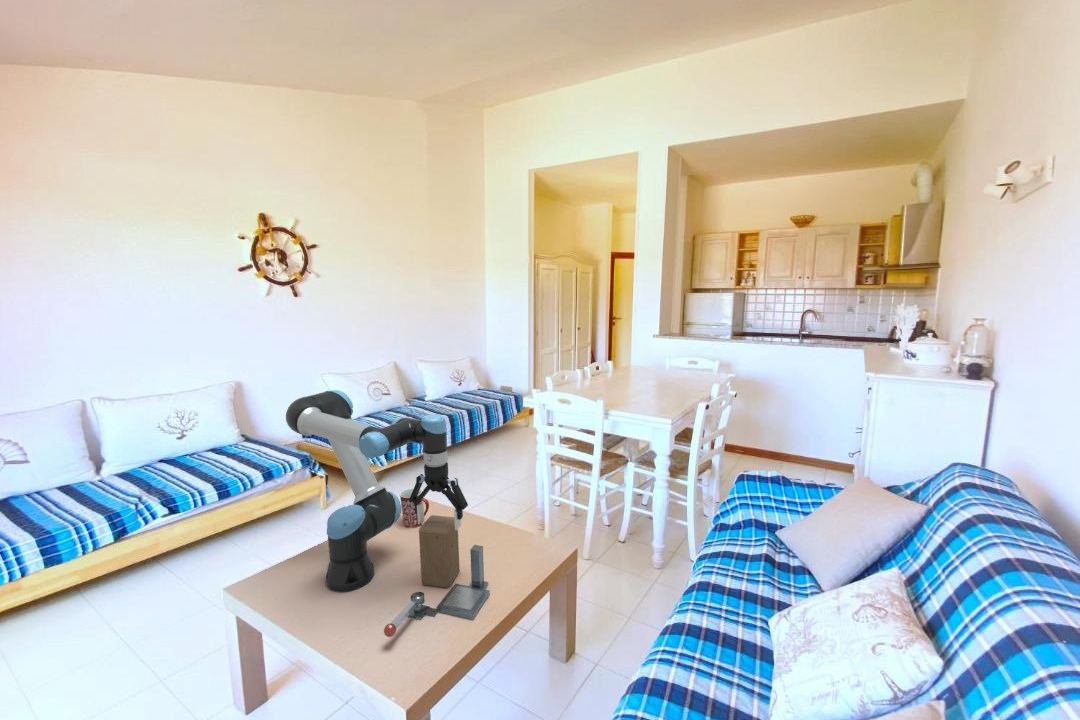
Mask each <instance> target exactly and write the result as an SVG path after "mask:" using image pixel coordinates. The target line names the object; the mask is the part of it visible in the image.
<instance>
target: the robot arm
mask: <svg viewBox="0 0 1080 720" xmlns="http://www.w3.org/2000/svg"><path fill="white" fill-rule="evenodd" d="M353 414H354V405H353V402H352V399H351V398H350V396H349V395H348V394H346V393H345V392H343V391H341V390H338V389H332V390H325V391H324V392H320V393H315V394H310V395H308V396H302V397H299V398H297V399H295V400H294V401H293V402H291V404H290V405H289V406H288V407H287V409H286V412H285V422H286V424H287V426H288V427H289V429H291V431H293V432H295V433H296V434H299V435H302V436H305V437H306V436H307V437H308V436H312V435H314V436H317V437H320V438H323V439H326V440H327V439H328V442H329V444H330V446H331V449H332V450H333V453H334V455H335V457H336V459H337V462H338V463H339V465H340V468H341V470H342V471H343V474H344V475H345V478H346V481H347V482H348V484H349V486H350V489H351V490H352V493H353V495H354V500H353V503H352V504H349V505H347V506H342V507H339V508H337V509H336V510H335V511H333V512H332V513H331V514H330V515H329V516H328V517H327V522H326V536H327V541H328V543H327V544H328V555H329V563H328V566H327V571H326V574H325V586H326V588H327V589H328V590H330V591H332V592H336V593H347V592H352V591H355V590H359V589H360V588H363V587H365V586H366V585H368V584H369V583H370V582H371V581H372V580H373V578H374V576H375V565H374V563H373V561H371V558H370V555H369V553H368V541H369V540H371V539H373V538H374V537H376V536H378V535H379V534H381V533H382V532H385V531H386V530H389V529H390V528H392V526H393V525H395V524H396V523H397V522H398V521H399V519H400V517H401V514H402V506H401V500H400V499H399V496H398V495H396V494H394V492H393V491H387V488H386V486H383V485H380V484H379V483H378V480H377V479H376V476H375V475H374V474H375V473H374V472H373V470H372V468H371V466H370V464H369V462H368V459H374V458H377V457H378V458H379V457H382V456H384V455H385V454H387V453H390V452H392V451H394V450H396V449H398V448H399V449H400V448H401V447H403V446H405V445H408V444H411V443H413V444H419V445H422V452H423V453H422V454H423V455H422V456H423V463H424V465H423V472H424V474H423V473H420V474H419V475H418V476H416V477H415V478H416V479H415V485H414V487H413V488H414V489H413V491H412V494H411V496H410V499H409V502H413V503H414V504H415V512H416V513H417V517H418V524H420V525H422V523H424V521H425V516H424V512H425V510H424V509H425V508H424V502H423V501H422V499H423V498H425V496H426V495H427V494H428V493H429V491H430V490H431V492H437V493H441V494H442V495H444V496H445V497H446V498H447V500H448V501H449V503H451V505H452V506H453V507H454V511H453V513H454V514H453V517H454V520H455V530H458V531H459V529H460V528H461V527H462V519H463V516H464V515H463V512H464V511H465V509H466V508H467V507H468V506H469V504H468V502H467V501H468V500H467V499H466V498H465V496H464V493H463V491H462V489H461V487H460V485H459V479H458V478H457V477H454V479H452V478H451V479H450V478H449V463H448V461H449V457H448V456H449V455H448V443H447V440H448V439H447V432H448V431H447V429H448V428H447V421H446V417H445V416H444V415H443V414H438V413H435V414H427V415H424V416H423V417H422V418H421V419H417V418H416V419H415V418H410V417H405V416H404V417H396V418H395V419H394V420H393V421H392V422H391V424H390V425H387V426H384V427H376V426H373V425H368V424H365V423H361V422H358V421H354V420H353V419H352V418H353V417H352V416H353ZM424 482H425V484H426V486H425V487H424V488H423V490H422V493H421V494H420V495H419V496H418V498H416V497H417V495H418V493H419V490H420V489H421V488H422V486H423V483H424ZM420 501H422V502H420ZM463 510H464V511H463Z"/></svg>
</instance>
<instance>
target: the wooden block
mask: <svg viewBox="0 0 1080 720" xmlns="http://www.w3.org/2000/svg"><path fill="white" fill-rule="evenodd" d="M418 539H419V540H418V541H419V558H420V578H421V584H422V585H423V586H430V587H431V586H432V587H439V588H450V587H451V585H452V583H454V581H455V579H456V578H457V576H458V574H459V572H460V571H461V570H460V551H459V550H460V547H459V529H458V530H455V520H454V516H444V515H442V516H441V515H435V514H434V515H430V516H429V517H428V518H427V519H426V520H425V522H423V524H421V525H420V527H419V529H418Z"/></svg>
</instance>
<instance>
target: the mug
mask: <svg viewBox="0 0 1080 720" xmlns="http://www.w3.org/2000/svg"><path fill="white" fill-rule="evenodd" d="M413 489H414V487H411V488H405V489H404V490H402V491H400V492H399V497H400V499H399V500H400V504H401V514H402V520H403V525H404V527H406V528H409V529H410V528H411V529H412V528H417V527H419V526H421V524H418V517H417V513H416V512H415V504H414V503H413V502H409V499H410V496H411V494H412V491H413ZM422 491H423V490H422V489H421V488H420V490H419V493H418V495H417V497H416V498H418V496H419V495H420V494H421V493H422ZM420 502H423V503H424V504H425V510H424V517H425V516H426V515H427V513H428V511H429V509H430V502H429V500H428V499H427V498H425V497H424V498H423V499H422V501H420Z"/></svg>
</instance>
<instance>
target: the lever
mask: <svg viewBox="0 0 1080 720" xmlns="http://www.w3.org/2000/svg"><path fill="white" fill-rule="evenodd" d="M424 604H425V593H424V592H423V591H415V592H413V593H411V595H410V601H409V602H408V603H407V604H406V605H405V606H404V608H403V609H402V610H401V611H400V612H399V614H397V616H396V617H394V619H393V620H392V621H391V622H389V623H387V624H386V625H385V627H384V628H383V634H384V636H386V637H388V638H391V637H393V636H394V635H395V634H396V633H397V629H398V628H399V627H400V626H401V625H402V624H403V622H404V621H405V620H406V619H407V618H409V617H408V615H409V614H410V613H411V612H412V611H413V610H414V608H415V607H417V606H421V605H424Z"/></svg>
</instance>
